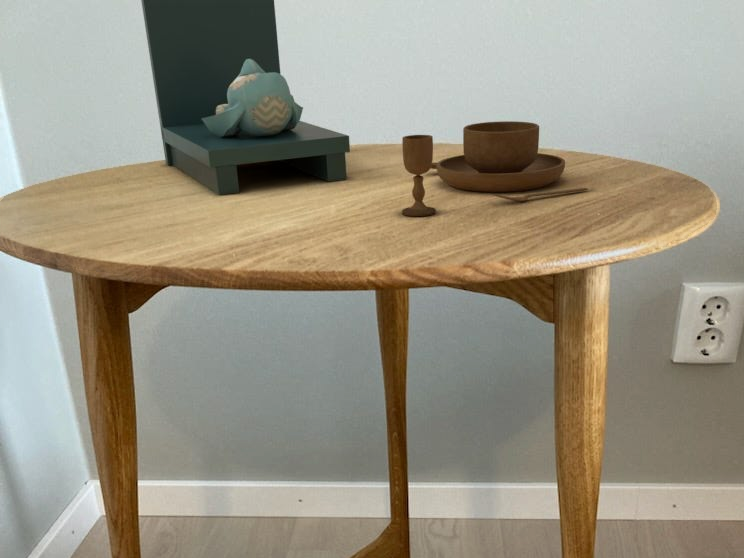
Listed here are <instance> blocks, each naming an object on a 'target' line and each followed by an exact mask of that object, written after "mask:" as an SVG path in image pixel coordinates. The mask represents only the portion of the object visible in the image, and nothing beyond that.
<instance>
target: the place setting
mask: <svg viewBox="0 0 744 558" xmlns="http://www.w3.org/2000/svg"><path fill="white" fill-rule="evenodd" d="M462 132H463V133H462V140H463V141H462V142H463V143H462V145H463V148H462V149H463V154H460V155H454V156H450V157H447V158H444V159H441V160H439V161H438V162H433V160H434V138H433V135H430V134H411V135H405V136H402V138H401V139H402V143H401V144H402V159H403V160H402V161H403V166H404V169H405V171H406V172H407V173H409V174H411V175H414V176H413V177H412V180H413V187H412V191H411V194H412V197H413V199H414V203H413V204H412V205H410V206H409V207H405V208H403V209H402V210H401V213H402V215H404V216H407V217H427V216H432V215H435V214H436V213H437V209H436V208H435V207H433V206H427V205H426V204H425V203H424V202H423V200H424V197H425V195H426V189H425V187H424V176H423V175H424V174H426V173H427V172H429V171H430V170H436V173H437V175H438V178H439V179H441V181H443V182H444V183H445V184H447V185H449V186H451V187H452V188H456V189H459V190H462V191H463V190H464V191H470V192H471V191H472V192H481V193H484V192H485V193H492V194H491V195H492V196H494V197H497V198H501V199H505V200H509V201H515V202H525V201H527V200H528V199H529V198H532V197H539V196H549V195H551V196H552V195H559V194H568V193H575V192H576V193H577V192H582V191H587V190H589V188H588V187H581V188H573V189H572V188H571V189H562V190H554V191H553V190H552V191H545V192H537V193H528V194H525V195H523V196H516V197H515V196H514V197H511V196H505V195H500V194H493V193H503V192H504V193H505V192H506V193H508V192H520V191H529V190H535V189H538V188H542V187H543V188H544V187H546V186H548V185H550V184H551V183H553V182H555V181H556V180H558V179H559V178H560V177H561V176H562V174H563V173H564V170H565V167H566V160H565V159H564V158H562V157H561V156H557V155H553V154H548V153H540V152H539V145H540V125H539V124H537V123H534V122H529V121H513V120H512V121H509V120H508V121H506V120H505V121H503V120H502V121H487V122H486V121H485V122H479V123H471V124H468V125H465V126H464V127H463V128H462Z"/></svg>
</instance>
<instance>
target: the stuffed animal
mask: <svg viewBox="0 0 744 558" xmlns="http://www.w3.org/2000/svg"><path fill="white" fill-rule="evenodd" d="M227 99H228V104H223V105H219V106H217V108H216V115H214V116H210V117H206V118H202V120H203V122H204V123H205V125H206V126H207V127H208V129H209V130H210V131H211V132H212V133H214V134H216V135H217V136H219V137H227V136H233V135H236V134H239V133H241V132H242V131H245V132H246V133H248V134H250V135H253V136H270V135H275V134H277V133H279V132H281V131H282V130H291V129H294V128H295V127H296V125H297V124H298V122H299V121H301V117H302V113H303V110H304V107H303V106H301V105H299V104H298V103H297V102H296V101H295V99H294V96H293V94H291V90H290V87H289V85H288V81H287V80H286V78H285V77H284V76H283V75H282V74H281V73H280V74H279V73H275V72H273V73H266V72H265V71H263V70H262V68H261V67H260V66H259V65H258V64H257V63H256V62H255V61H254V60H252V59H246V60H245V62H244V64H243V67H242V69H241V72H240V74H239V75H238V77H237V78H236V79H235V80H234V81H233V82H232V83H231V85H230V86H229V88H228V91H227Z"/></svg>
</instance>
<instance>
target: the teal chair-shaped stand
mask: <svg viewBox="0 0 744 558" xmlns="http://www.w3.org/2000/svg"><path fill="white" fill-rule="evenodd" d="M140 1H141V2H140V3H141V7H142V14H143V20H144V27H145V33H146V35H145V36H146V40H147V48H148V53H149V61H150V67H151V68H150V69H151V73H152V80H153V87H154V93H155V94H154V95H155V99H156V100H155V101H156V107H157V115H158V120H159V121H158V122H159V126H160V132H161V140H162V147H163V152H164V153H163V154H164V159H165V165H166V166H168V167H171V166H173V167H175V168H176V169H178V170H180V171H181V172H182V173H184V174H186V175H187V176H188V177H190V178H192V179H193V180H195V181H197V182H198V183H200V184H201V185H203V186H204V187H206V188H208V189H209V190H211V191H212V192H214V193H216V194H217V195H219V196H221V195H222V196H223V195H230V194H239V193H240V184H239V178H238V177H239V176H238V170H237V169H238V167H237V166H238V165H247V164H255V163H264V162H274V161H279V162H282V163H284V164H287V165H289V166H292V167H294V168H296V169H297V170H301V171H303V172H304V173H307V174H310V175H312V176H315V177H316V178H319V179H322V180H324V181H326V182H328V183H329V182H335V181H345V180H347V178H348V177H347V176H348V175H347V161H346V160H347V159H346V153H350V152H351V147H350V145H351V144H350V135H348V134H344V133H342V132H338V131H336V130H332V129H328V128H325V127H321V126H319V125H315V124H312V123H309V122H306V121H302V120H299V122H298V124H297V125H296V127H295V128H294V129H291V130H282V131H281V132H279V133H277V134H275V135H270V136H253V135H250V134H248V133H246V132H245V131H242V132H241V133H239V134H236V135H233V136H227V137H219V136H217V135H216V134H214V133H212V132H211V131H210V130H209V129H208V127H207V126H206V125H205V123H204V122H203V120H202V118H206V117H210V116H214V115H216V108H217V106H219V105H223V104H228V99H227V91H228V88H229V86H230V85H231V83H232V82H233V81H234V80H235V79H236V78H237V77H238V75H239V74H240V72H241V69H242V67H243V64H244V62H245V60H246V59H252V60H254V61H255V62H256V63H257V64H258V65H259V66H260V67H261V68H262V70H263V71H265V72H266V73H273V72H275V73H279V74H281V63H280V53H279V42H278V41H279V40H278V31H277V30H278V29H277V28H278V27H277V19H276V7H275V5H276V4H275V0H140Z"/></svg>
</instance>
